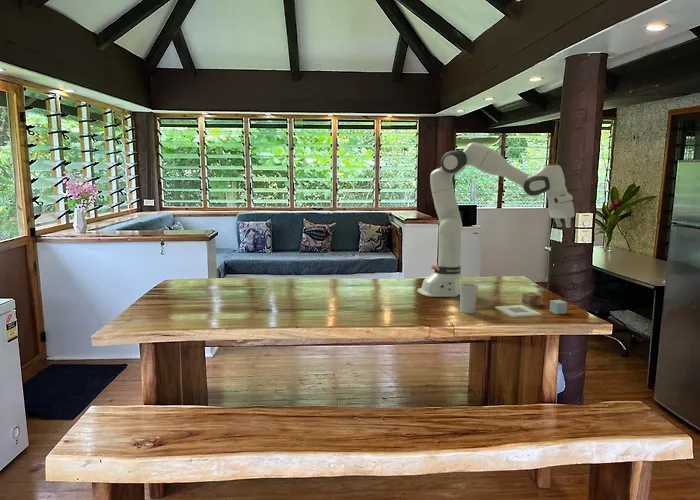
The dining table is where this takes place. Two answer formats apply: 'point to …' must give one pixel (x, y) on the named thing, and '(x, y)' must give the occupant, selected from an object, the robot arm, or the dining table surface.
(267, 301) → the dining table surface
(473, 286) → the cup
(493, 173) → the robot arm
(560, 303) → the grey cube
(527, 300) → the walnut block
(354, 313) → the dining table surface
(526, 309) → the plate
